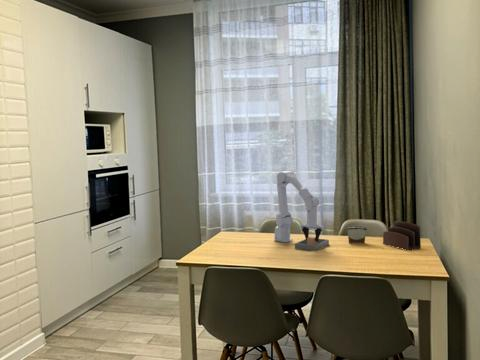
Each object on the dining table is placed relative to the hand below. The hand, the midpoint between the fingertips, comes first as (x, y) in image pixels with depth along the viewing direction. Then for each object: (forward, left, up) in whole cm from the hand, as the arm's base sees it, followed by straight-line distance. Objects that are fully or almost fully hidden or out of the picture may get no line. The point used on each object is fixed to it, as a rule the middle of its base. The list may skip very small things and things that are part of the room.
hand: (312, 240), depth 263 cm
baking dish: (0, 0, -4) cm, 4 cm away
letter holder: (+45, +26, -4) cm, 52 cm away
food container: (+18, +24, -4) cm, 30 cm away
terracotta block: (0, 0, -3) cm, 3 cm away
